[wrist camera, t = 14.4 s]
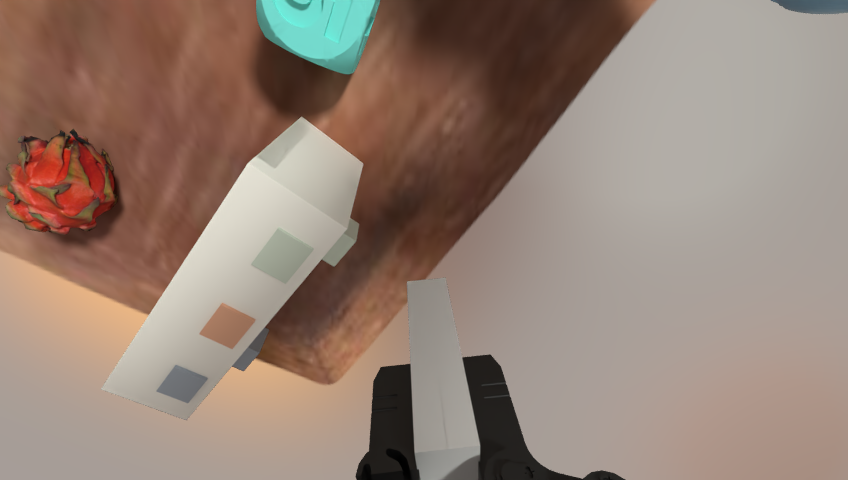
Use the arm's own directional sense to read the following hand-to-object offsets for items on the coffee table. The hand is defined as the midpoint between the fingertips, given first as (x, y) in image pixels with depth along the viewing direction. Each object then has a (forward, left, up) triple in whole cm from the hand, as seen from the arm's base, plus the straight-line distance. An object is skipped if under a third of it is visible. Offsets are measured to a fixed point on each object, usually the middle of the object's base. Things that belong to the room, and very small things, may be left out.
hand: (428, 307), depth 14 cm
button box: (+18, +10, -29) cm, 36 cm away
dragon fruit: (+35, +1, -30) cm, 46 cm away
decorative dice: (+6, -12, -30) cm, 33 cm away
